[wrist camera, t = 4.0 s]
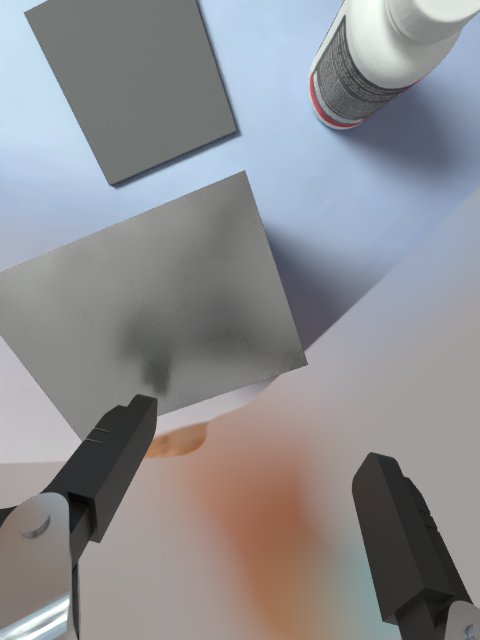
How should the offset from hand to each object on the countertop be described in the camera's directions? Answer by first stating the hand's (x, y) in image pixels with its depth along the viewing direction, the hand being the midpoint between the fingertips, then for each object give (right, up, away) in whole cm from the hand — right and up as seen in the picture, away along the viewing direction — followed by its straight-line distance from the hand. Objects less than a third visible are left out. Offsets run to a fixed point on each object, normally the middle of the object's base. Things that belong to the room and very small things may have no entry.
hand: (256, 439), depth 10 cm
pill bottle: (+7, +21, +9) cm, 23 cm away
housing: (-5, +9, +12) cm, 16 cm away
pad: (-7, +21, +8) cm, 23 cm away
